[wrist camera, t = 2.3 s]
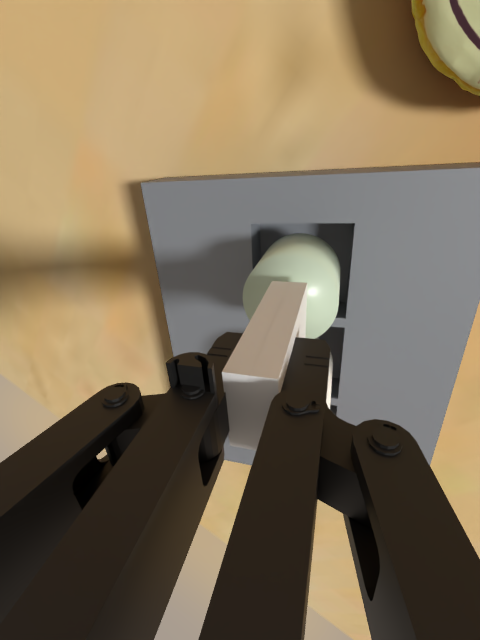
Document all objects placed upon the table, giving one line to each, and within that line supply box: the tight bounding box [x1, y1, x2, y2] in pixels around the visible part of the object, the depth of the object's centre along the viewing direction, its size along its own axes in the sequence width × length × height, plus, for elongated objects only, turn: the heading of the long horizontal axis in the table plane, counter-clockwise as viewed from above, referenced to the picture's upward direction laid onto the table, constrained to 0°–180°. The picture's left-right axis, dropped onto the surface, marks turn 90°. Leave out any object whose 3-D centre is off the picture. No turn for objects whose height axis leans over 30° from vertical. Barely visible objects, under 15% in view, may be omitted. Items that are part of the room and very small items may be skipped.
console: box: [141, 162, 480, 465], centre depth 23 cm, size 18×22×3 cm
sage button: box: [243, 233, 340, 339], centre depth 17 cm, size 4×4×4 cm
